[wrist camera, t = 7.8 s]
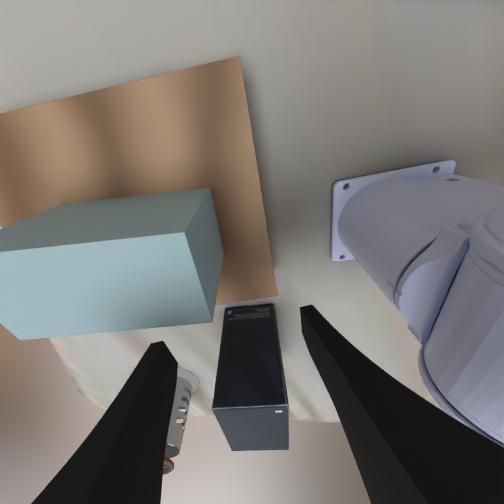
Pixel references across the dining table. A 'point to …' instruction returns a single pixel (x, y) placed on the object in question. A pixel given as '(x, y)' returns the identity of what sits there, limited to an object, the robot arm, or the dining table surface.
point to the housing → (111, 266)
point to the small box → (251, 381)
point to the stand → (148, 159)
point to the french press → (179, 415)
